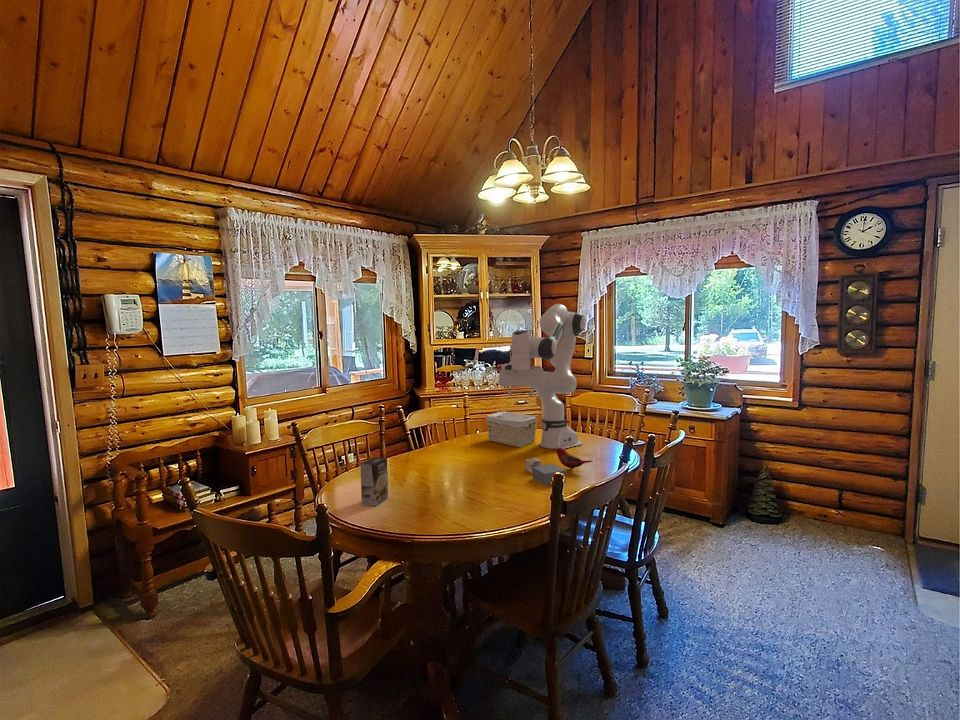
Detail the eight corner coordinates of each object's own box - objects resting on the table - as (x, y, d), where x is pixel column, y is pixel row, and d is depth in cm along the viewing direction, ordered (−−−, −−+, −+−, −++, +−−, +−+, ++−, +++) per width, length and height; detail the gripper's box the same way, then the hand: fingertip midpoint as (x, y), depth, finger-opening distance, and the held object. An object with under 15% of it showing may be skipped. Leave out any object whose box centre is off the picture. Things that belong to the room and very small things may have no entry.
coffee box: (375, 506, 189) (374, 464, 187) (361, 504, 191) (359, 463, 190) (389, 498, 197) (387, 457, 196) (374, 496, 200) (373, 456, 198)
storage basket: (538, 442, 275) (538, 415, 273) (519, 449, 263) (519, 421, 262) (504, 435, 291) (504, 410, 290) (485, 441, 279) (484, 415, 278)
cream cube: (535, 468, 231) (535, 457, 230) (541, 471, 226) (541, 460, 226) (525, 470, 228) (525, 459, 228) (531, 473, 224) (531, 462, 223)
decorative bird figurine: (556, 468, 230) (556, 446, 229) (594, 473, 221) (594, 451, 220) (553, 469, 228) (553, 448, 227) (592, 475, 219) (592, 453, 218)
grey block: (552, 475, 221) (552, 463, 220) (565, 481, 212) (565, 470, 211) (532, 478, 217) (532, 467, 216) (545, 485, 208) (544, 473, 207)
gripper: (542, 365, 235) (542, 394, 236) (498, 365, 235) (498, 395, 236) (544, 366, 229) (544, 396, 230) (499, 366, 228) (499, 397, 230)
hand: (520, 395), depth 233 cm, fingers open, 8 cm apart
